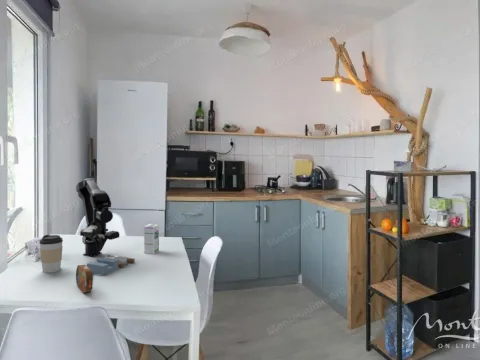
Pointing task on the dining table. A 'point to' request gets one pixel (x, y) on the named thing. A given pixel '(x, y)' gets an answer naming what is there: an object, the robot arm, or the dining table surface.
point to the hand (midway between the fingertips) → (99, 251)
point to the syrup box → (151, 238)
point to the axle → (119, 259)
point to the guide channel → (131, 260)
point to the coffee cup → (51, 253)
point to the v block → (103, 266)
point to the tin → (84, 278)
